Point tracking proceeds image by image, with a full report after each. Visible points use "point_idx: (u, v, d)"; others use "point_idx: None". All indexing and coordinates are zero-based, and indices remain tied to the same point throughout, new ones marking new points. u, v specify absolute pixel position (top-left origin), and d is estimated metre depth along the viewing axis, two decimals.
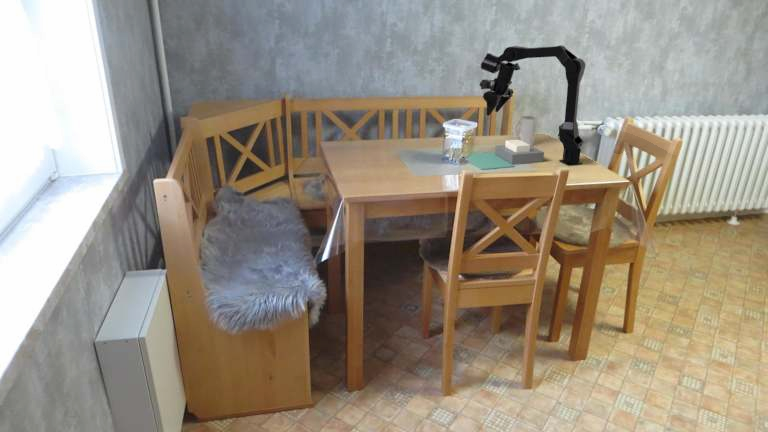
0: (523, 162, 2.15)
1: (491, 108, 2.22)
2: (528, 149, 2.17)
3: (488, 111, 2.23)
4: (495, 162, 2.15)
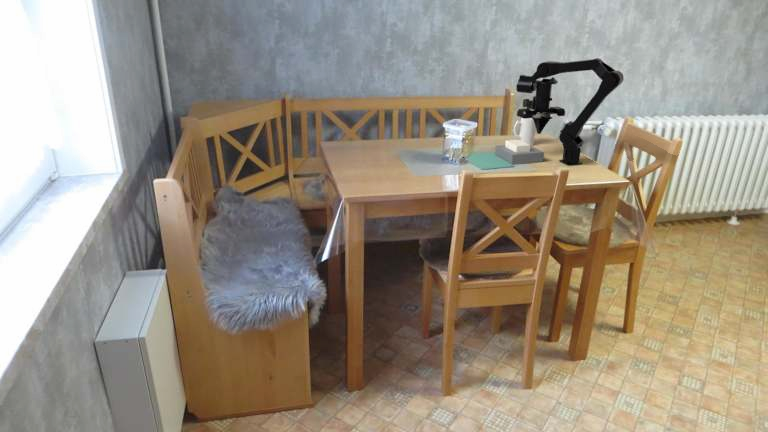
0: (523, 162, 2.15)
1: (537, 125, 2.18)
2: (528, 149, 2.17)
3: (537, 129, 2.20)
4: (495, 162, 2.15)
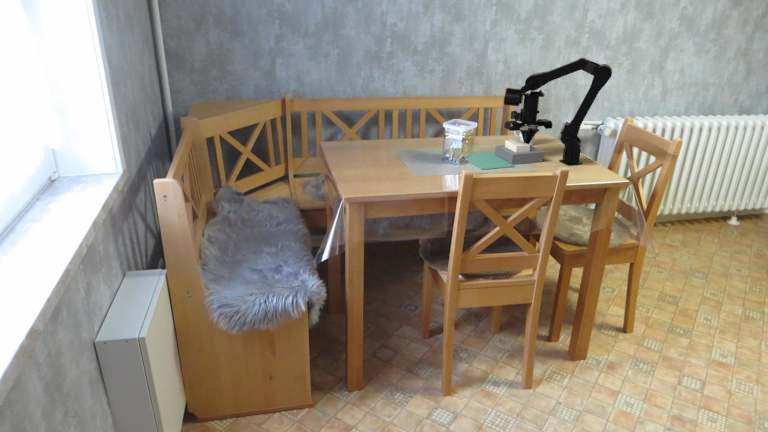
0: (523, 162, 2.15)
1: (525, 137, 2.18)
2: (528, 149, 2.17)
3: (524, 141, 2.20)
4: (495, 162, 2.15)
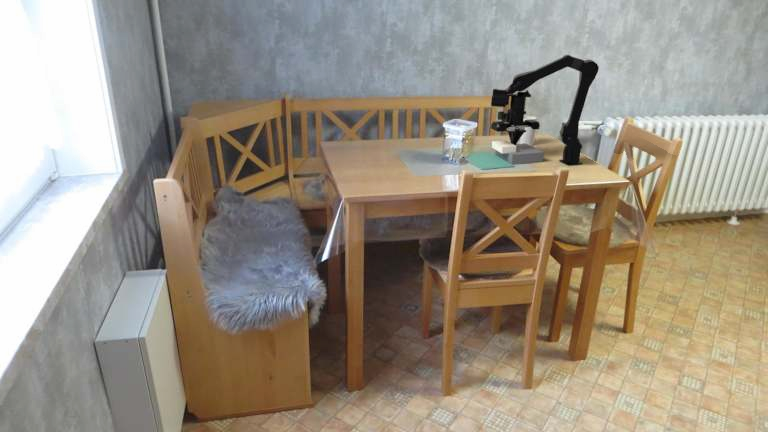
0: (523, 162, 2.15)
1: (512, 138, 2.17)
2: (514, 150, 2.15)
3: (511, 142, 2.18)
4: (495, 162, 2.15)
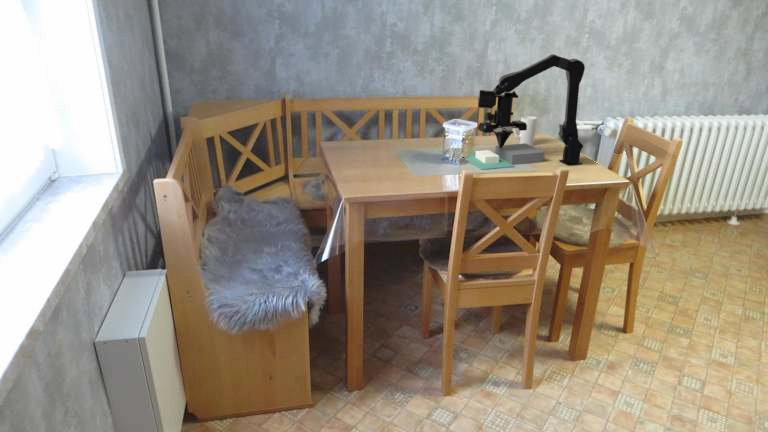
0: (523, 162, 2.15)
1: (499, 139, 2.15)
2: (486, 159, 2.13)
3: (498, 143, 2.17)
4: None
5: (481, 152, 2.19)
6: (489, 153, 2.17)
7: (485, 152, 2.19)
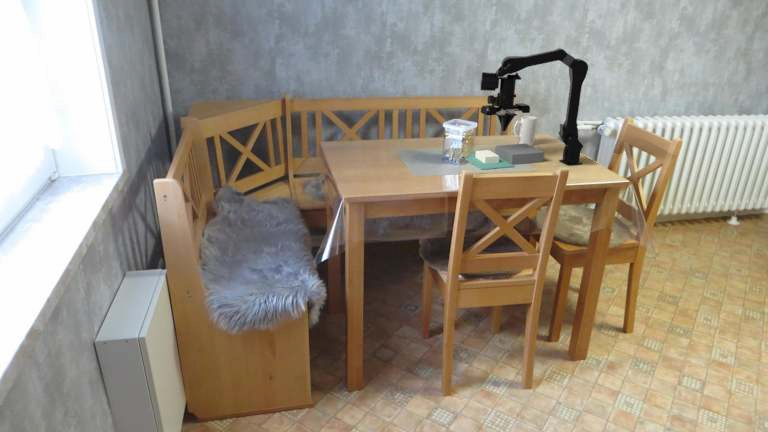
0: (523, 162, 2.15)
1: (502, 122, 2.13)
2: (486, 159, 2.13)
3: (501, 126, 2.14)
4: None
5: (481, 152, 2.19)
6: (489, 153, 2.17)
7: (485, 152, 2.19)
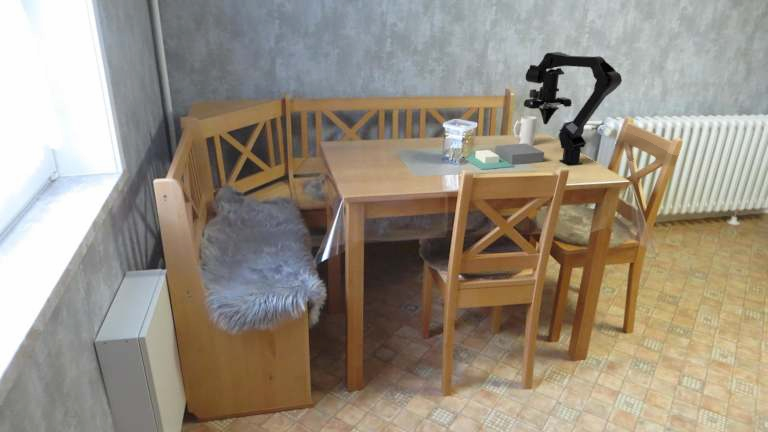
0: (523, 162, 2.15)
1: (544, 115, 2.20)
2: (486, 159, 2.13)
3: (543, 119, 2.21)
4: None
5: (481, 152, 2.19)
6: (489, 153, 2.17)
7: (485, 152, 2.19)
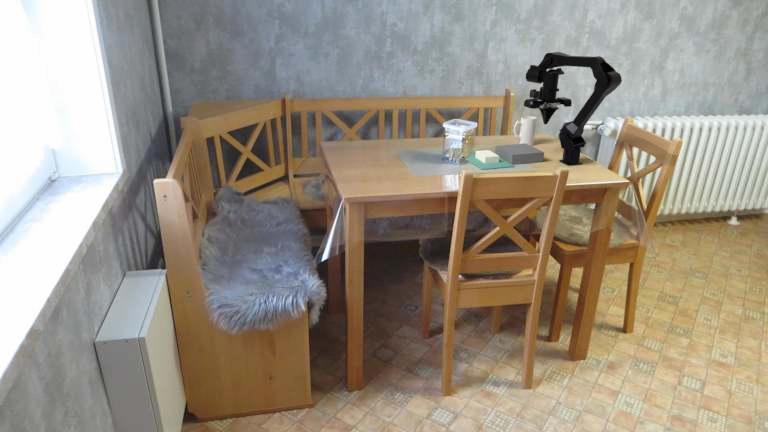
0: (523, 162, 2.15)
1: (544, 115, 2.20)
2: (486, 159, 2.13)
3: (543, 119, 2.21)
4: None
5: (481, 152, 2.19)
6: (489, 153, 2.17)
7: (485, 152, 2.19)
